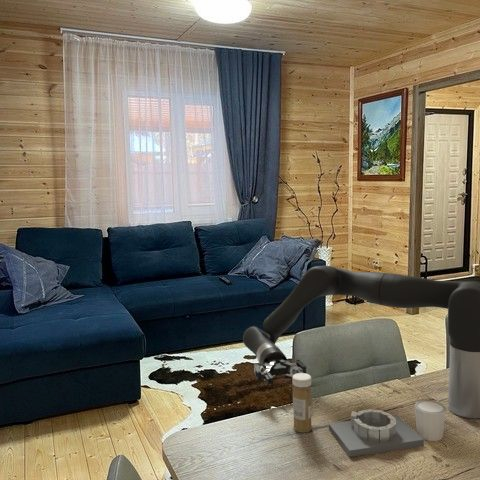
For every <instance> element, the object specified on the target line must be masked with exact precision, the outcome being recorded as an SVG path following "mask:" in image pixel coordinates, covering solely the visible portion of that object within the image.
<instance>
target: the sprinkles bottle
mask: <svg viewBox="0 0 480 480" xmlns="http://www.w3.org/2000/svg"><path fill="white" fill-rule="evenodd" d="M296 373H297V372H296ZM306 373H307V372H306ZM306 373H297V374H295V375H293V376H292V377H291V378H292V379H291V380H292V386H293V387H292V388H293V390H292V391H293V394H292V401H293V402H292V403H293V404H292V405H293V406H292V408H293V410H292V411H293V412H292V413H293V429H294V431H295V432H298V433H302V434H303V433H309V432H310V431H312V429H313V425H312V416H313V415H312V395H311V393H312V388H311V387H312V376H311V375H310V374H309V373H307V374H306Z"/></svg>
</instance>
